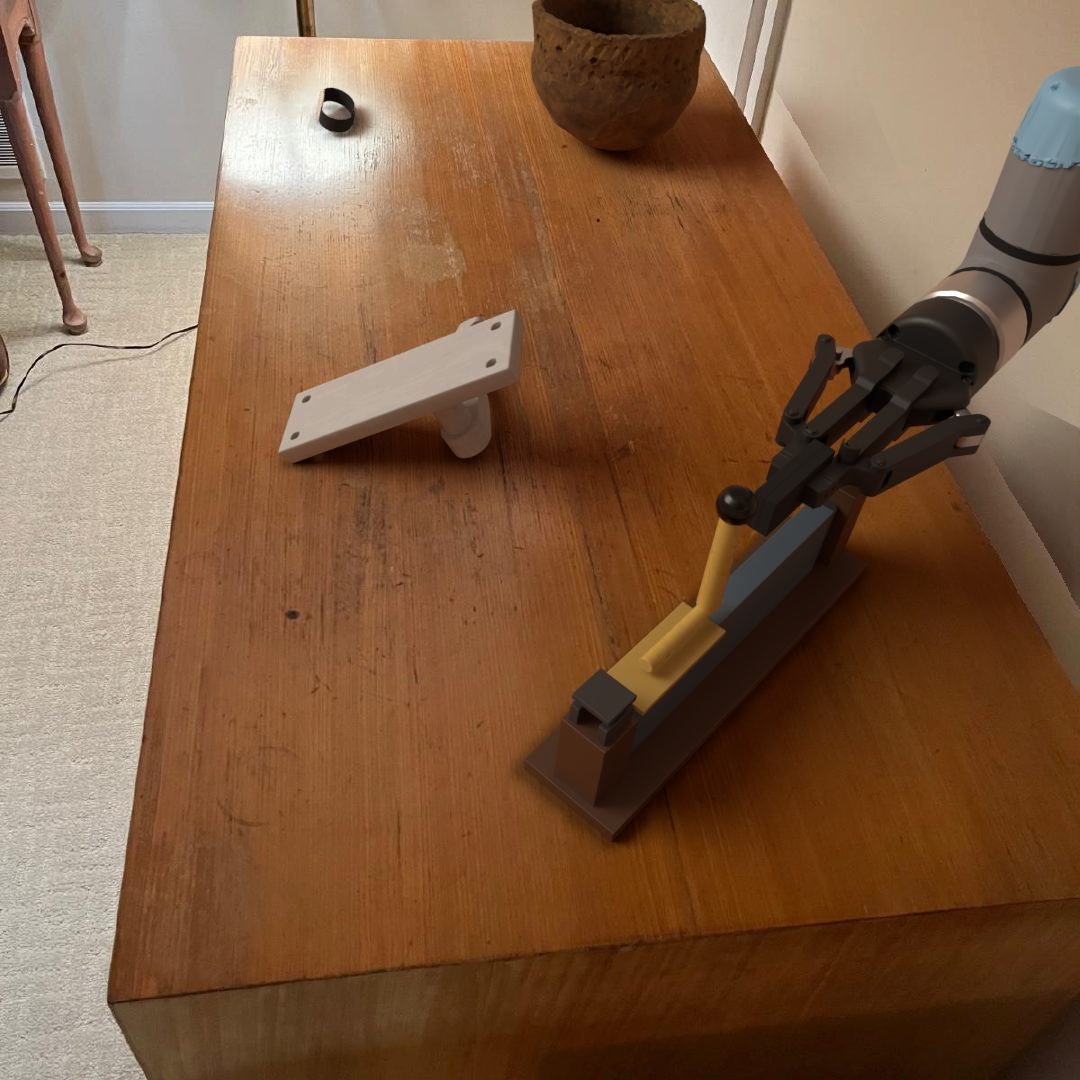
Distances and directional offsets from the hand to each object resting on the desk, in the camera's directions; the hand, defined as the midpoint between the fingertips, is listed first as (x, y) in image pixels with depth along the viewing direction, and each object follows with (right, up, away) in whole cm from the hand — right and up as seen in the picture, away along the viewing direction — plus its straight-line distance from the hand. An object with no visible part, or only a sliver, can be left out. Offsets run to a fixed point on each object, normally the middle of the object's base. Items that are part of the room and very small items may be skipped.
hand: (760, 514), depth 59 cm
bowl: (-5, +45, +59) cm, 75 cm away
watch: (-36, +46, +58) cm, 83 cm away
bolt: (-4, -7, +1) cm, 8 cm away
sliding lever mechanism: (-1, -10, +9) cm, 13 cm away
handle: (-24, +10, +25) cm, 36 cm away
